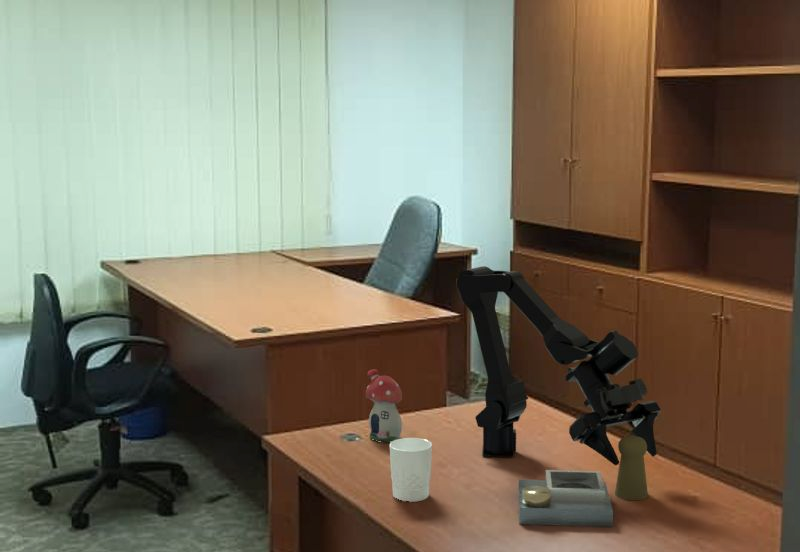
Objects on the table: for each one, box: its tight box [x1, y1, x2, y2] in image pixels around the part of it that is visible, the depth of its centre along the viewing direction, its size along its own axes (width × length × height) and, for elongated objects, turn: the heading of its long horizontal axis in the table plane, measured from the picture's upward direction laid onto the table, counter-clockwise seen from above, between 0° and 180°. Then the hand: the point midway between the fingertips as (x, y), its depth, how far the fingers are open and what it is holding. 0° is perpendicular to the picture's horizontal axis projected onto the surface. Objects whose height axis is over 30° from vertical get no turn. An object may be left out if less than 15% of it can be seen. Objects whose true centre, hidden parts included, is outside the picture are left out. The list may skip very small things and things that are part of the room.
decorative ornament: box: [365, 368, 403, 443], centre depth 231 cm, size 9×7×15 cm
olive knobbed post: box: [614, 435, 649, 501], centre depth 197 cm, size 6×6×11 cm
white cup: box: [389, 437, 433, 503], centre depth 197 cm, size 8×8×10 cm
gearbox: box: [517, 469, 614, 528], centre depth 190 cm, size 16×14×5 cm
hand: (636, 459), depth 196 cm, fingers open, 9 cm apart
